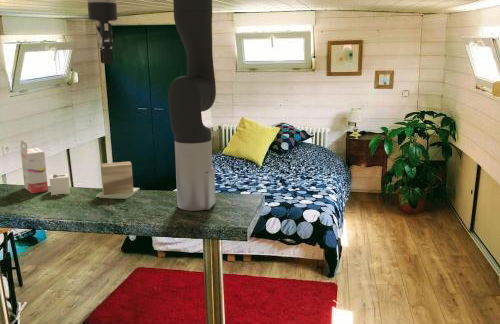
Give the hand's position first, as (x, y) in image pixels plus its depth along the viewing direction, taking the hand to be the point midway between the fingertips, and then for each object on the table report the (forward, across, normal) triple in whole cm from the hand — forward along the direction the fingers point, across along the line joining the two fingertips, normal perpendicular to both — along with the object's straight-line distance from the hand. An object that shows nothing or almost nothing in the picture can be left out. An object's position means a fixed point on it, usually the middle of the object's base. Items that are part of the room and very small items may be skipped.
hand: (106, 63), depth 135 cm
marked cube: (+36, +2, +15) cm, 39 cm away
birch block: (+36, -5, 0) cm, 36 cm away
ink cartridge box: (+36, +9, +22) cm, 43 cm away
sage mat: (+36, -5, 0) cm, 37 cm away
